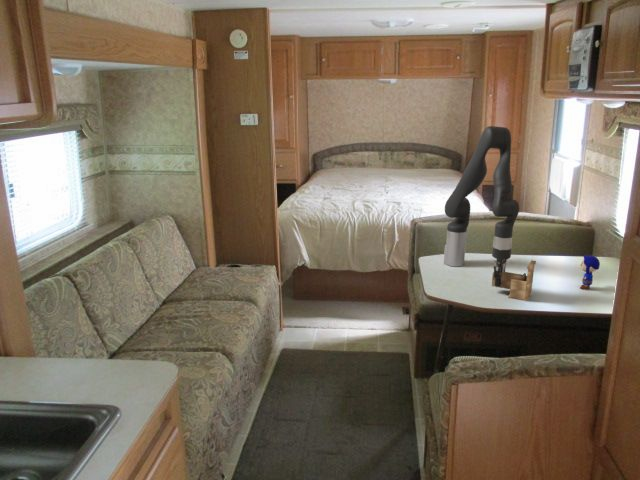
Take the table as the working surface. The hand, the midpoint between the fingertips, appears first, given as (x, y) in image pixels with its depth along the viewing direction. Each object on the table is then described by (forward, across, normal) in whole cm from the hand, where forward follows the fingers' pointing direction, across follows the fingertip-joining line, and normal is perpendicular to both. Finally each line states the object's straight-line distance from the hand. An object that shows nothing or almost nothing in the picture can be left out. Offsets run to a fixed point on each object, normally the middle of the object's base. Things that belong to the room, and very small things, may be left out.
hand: (498, 284), depth 234 cm
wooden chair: (+4, 0, +9) cm, 9 cm away
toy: (+4, -23, +33) cm, 40 cm away
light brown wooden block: (+1, 0, +4) cm, 4 cm away
